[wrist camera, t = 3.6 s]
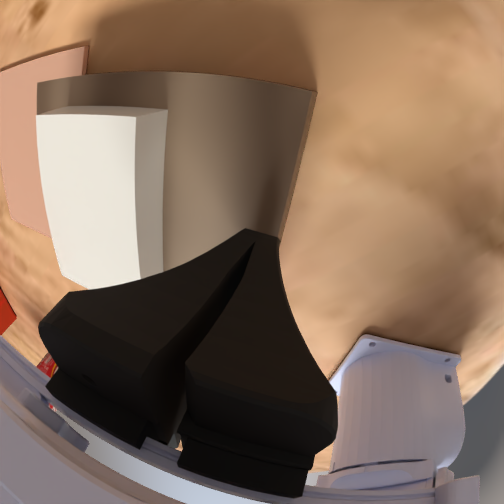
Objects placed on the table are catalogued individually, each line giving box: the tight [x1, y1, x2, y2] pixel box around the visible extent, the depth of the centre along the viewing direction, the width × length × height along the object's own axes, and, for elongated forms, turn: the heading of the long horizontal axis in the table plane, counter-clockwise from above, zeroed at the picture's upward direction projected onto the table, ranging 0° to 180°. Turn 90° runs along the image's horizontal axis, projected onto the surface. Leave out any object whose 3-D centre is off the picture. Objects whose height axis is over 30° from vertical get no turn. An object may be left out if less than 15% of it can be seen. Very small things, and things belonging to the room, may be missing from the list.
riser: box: [37, 71, 317, 272], centre depth 14 cm, size 14×12×4 cm
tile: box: [36, 106, 168, 289], centre depth 11 cm, size 6×9×2 cm, turn 170°
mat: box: [0, 46, 89, 238], centre depth 17 cm, size 14×16×1 cm
